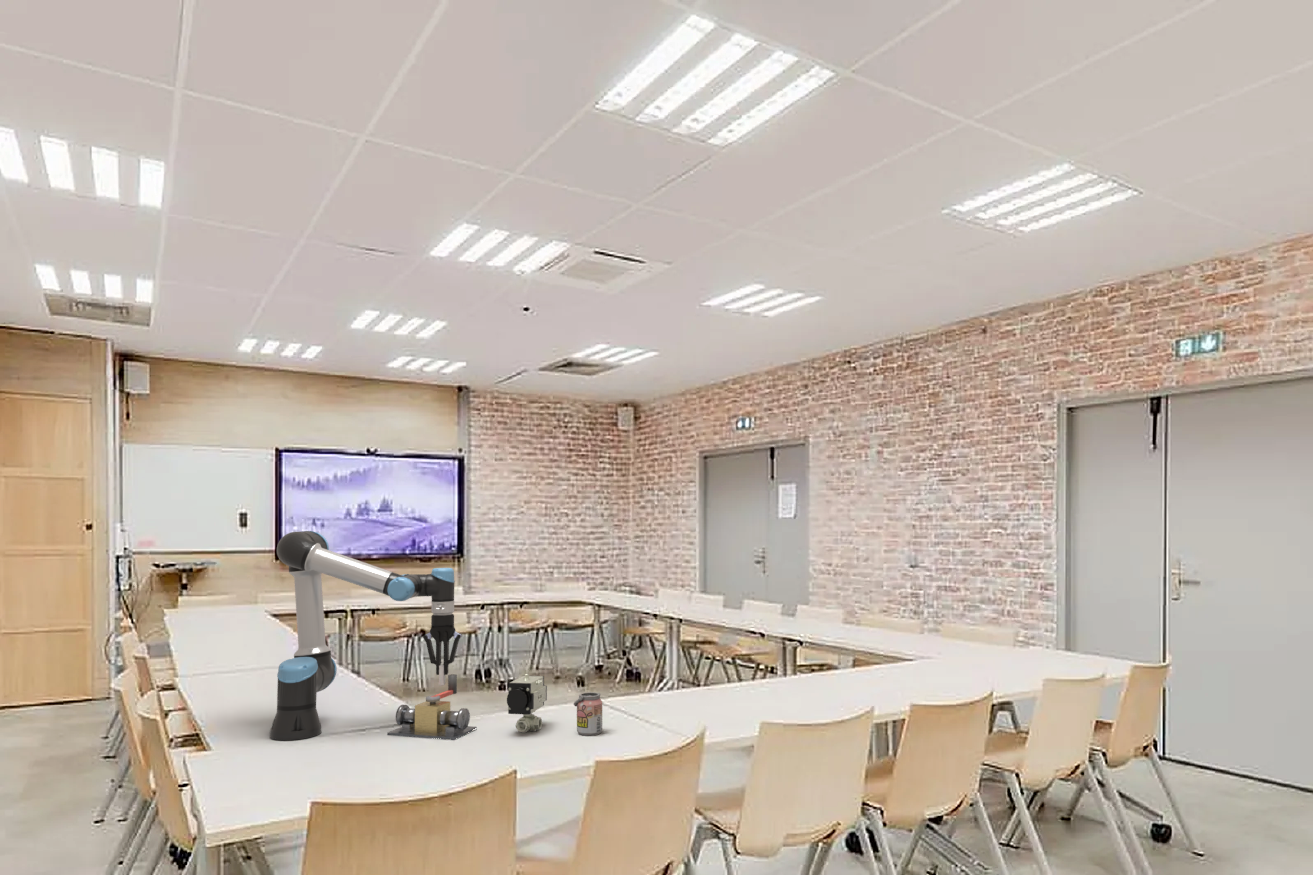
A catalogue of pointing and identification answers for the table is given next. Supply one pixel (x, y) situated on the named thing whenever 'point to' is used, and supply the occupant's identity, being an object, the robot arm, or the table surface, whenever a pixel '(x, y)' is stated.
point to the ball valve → (527, 701)
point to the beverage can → (589, 714)
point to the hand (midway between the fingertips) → (442, 684)
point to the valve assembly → (432, 721)
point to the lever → (451, 690)
